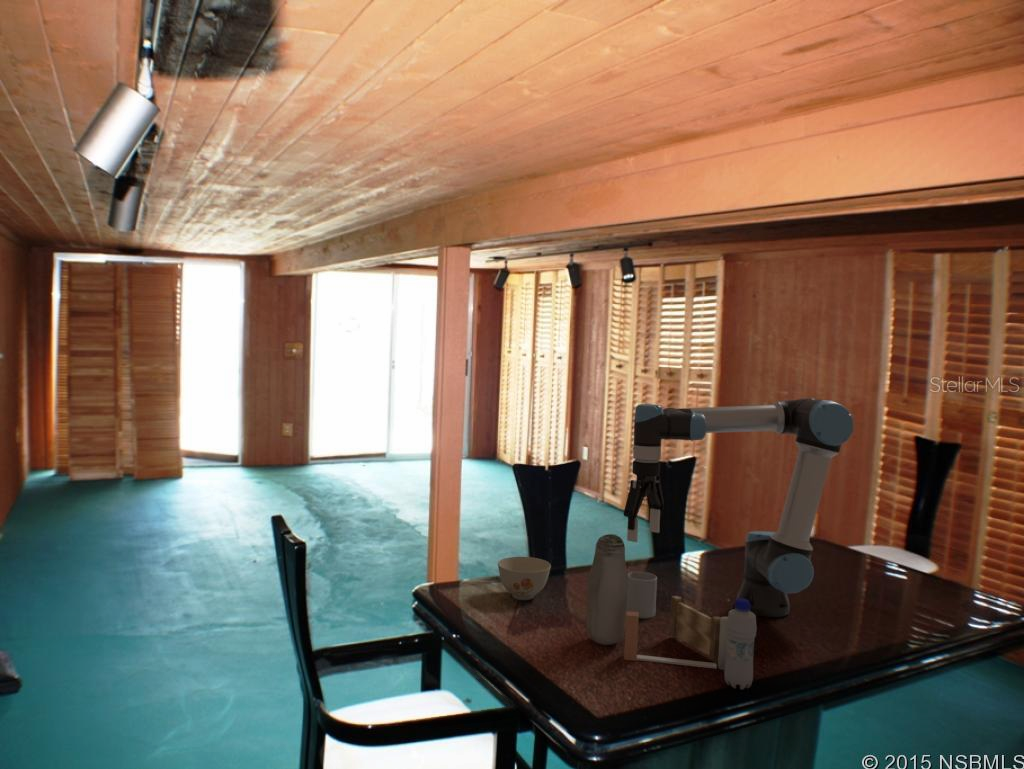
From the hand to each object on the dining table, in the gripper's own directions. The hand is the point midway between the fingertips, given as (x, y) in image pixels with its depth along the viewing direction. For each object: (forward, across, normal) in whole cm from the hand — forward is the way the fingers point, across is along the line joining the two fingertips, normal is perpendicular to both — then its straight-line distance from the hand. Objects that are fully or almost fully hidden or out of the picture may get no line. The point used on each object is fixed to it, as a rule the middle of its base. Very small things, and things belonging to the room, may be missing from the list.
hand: (643, 536), depth 209 cm
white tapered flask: (+24, +20, 0) cm, 31 cm away
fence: (+24, +19, +19) cm, 36 cm away
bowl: (+24, +5, -36) cm, 44 cm away
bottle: (+24, +21, +35) cm, 48 cm away
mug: (+24, -7, -5) cm, 26 cm away
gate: (+23, +8, +19) cm, 31 cm away
